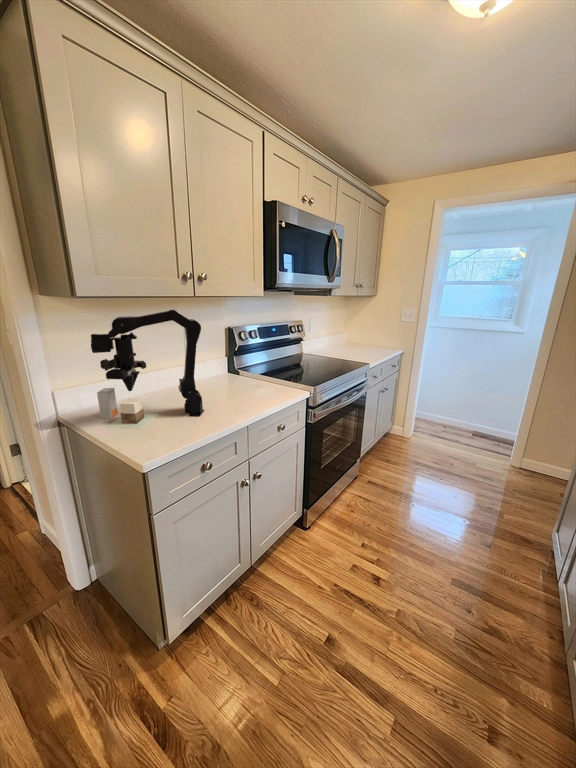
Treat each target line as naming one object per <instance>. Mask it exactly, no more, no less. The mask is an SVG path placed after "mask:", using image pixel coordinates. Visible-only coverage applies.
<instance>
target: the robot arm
mask: <svg viewBox="0 0 576 768" xmlns="http://www.w3.org/2000/svg"><path fill="white" fill-rule="evenodd" d="M171 321H173V322H174V323H176V324H177V325H179V326H181V328H182V327H183V328H184V336H185V340H186V341H185V342H186V345H185V359H184V373H183V376H182V378H179V380H178V381H179V384H178V385H179V386H178V391H179V393H181V396H182V397H183V398H184V399H185V400H184V401H185V402H184V413H185V414H188V416H190V417H201V415H202V414H203V413H204V412H205V409H203V408H204V407H203V406H204V405H203V397H202V395H201V393H200V392H199V390H198V389H197V387H196V381H195V369H196V356H197V354H196V353H197V344H198V341H199V337H200V334H201V332H202V325H201V324H200V322H199V321H197V320H195V319H193V318H187V317H186V316H184V315H182V314H181V313H179V312H178V311H177V310H176V309H168V310H166V311H160V312H155V313H154V312H153V313H149V314H145V315H139V316H132V315H131V316H128V315H127V316H117V317H116V318H114V320H112V322H111V329H110V330H109V331H108V332H107V333H100V334H99V333H92V334H90V347H91V348H90V349H91V352H92V354H95V353H96V354H100V353H111V351H112V350H114V348H115V352H116V353H115V354H114V355H113V358H112V359H110V360H108V358H106V359H102V360H100V361H99V362H100V368H101V369H103V370H104V371H105V372H106V373H105V378H106V379H107V380H122V382H123V383H124V386H125V388H126V389H127V391H128V392H132V391H133V388H134V386H135V384H136V381H137V379H138V376H139V374H140V370H139V371H138V370H137V369H138V368H140V369H142V370H143V369H146V368H147V362H146V361H144V360H135V357H136V356H137V352H134V348H133V347H134V346H133V340H137V339H138V337H137V335H135V333H133V332H132V331H134V330H136V329H138V328H139V329H140V328H141V327H145V326H152V325H157V324H162V323H166V322H171ZM127 333H129V334H127ZM118 335H120V336H119V337H117V336H118Z"/></svg>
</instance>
